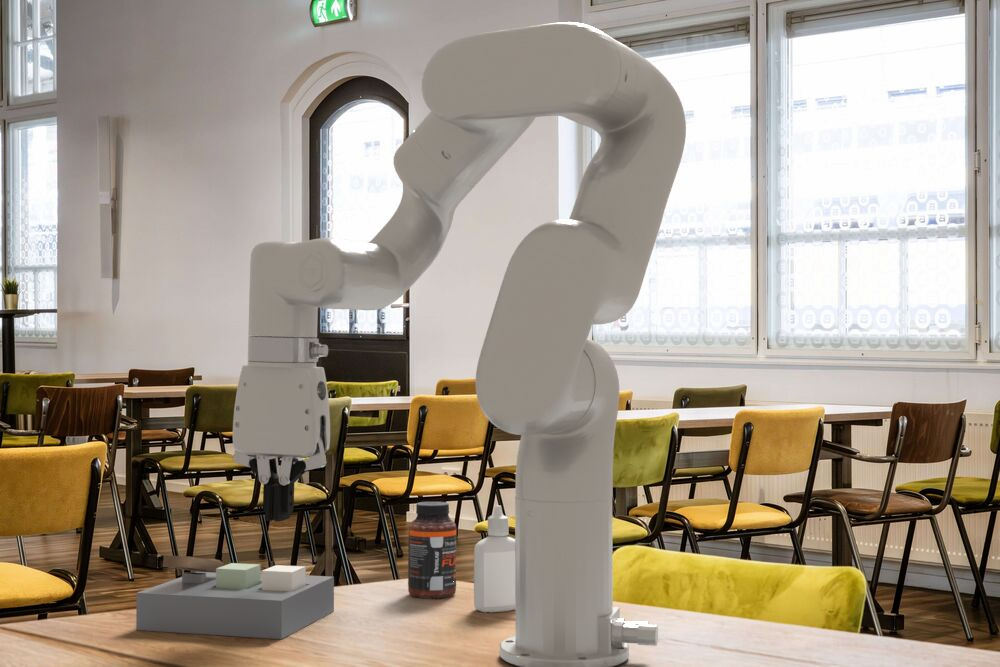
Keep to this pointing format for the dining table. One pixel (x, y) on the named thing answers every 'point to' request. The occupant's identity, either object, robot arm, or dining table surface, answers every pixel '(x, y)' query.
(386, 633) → the dining table surface
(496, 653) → the dining table surface
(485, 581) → the eye dropper bottle
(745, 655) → the dining table surface
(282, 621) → the console
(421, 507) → the supplement bottle
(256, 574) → the sage button
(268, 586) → the white button
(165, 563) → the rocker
